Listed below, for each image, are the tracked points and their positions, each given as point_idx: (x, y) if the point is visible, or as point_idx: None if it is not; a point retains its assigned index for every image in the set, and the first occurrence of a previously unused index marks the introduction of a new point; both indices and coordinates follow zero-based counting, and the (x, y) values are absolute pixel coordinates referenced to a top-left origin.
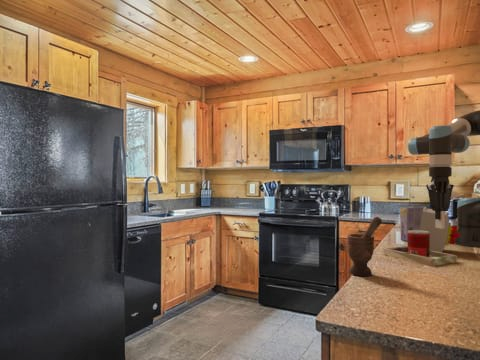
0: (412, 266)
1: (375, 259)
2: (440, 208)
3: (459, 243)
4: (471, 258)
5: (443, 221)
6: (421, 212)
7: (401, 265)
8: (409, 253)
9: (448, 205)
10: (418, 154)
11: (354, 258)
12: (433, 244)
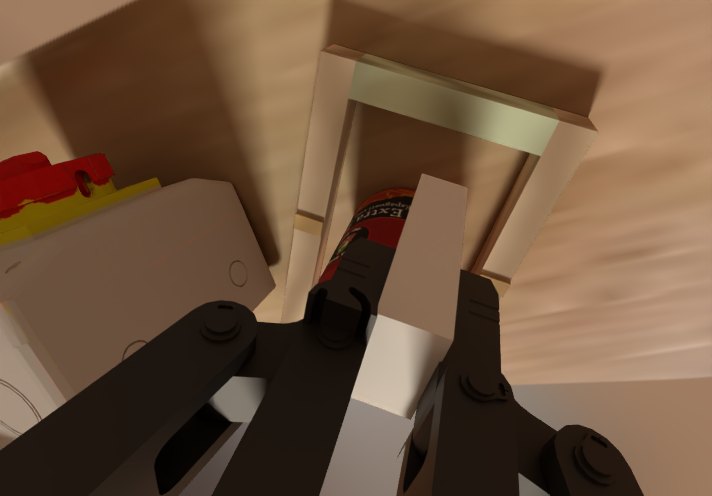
0: (672, 195)
1: (593, 364)
2: (494, 413)
3: None
4: (161, 16)
5: (436, 221)
6: None
7: (679, 245)
8: (488, 275)
9: (184, 361)
10: None
11: None
12: (221, 234)
